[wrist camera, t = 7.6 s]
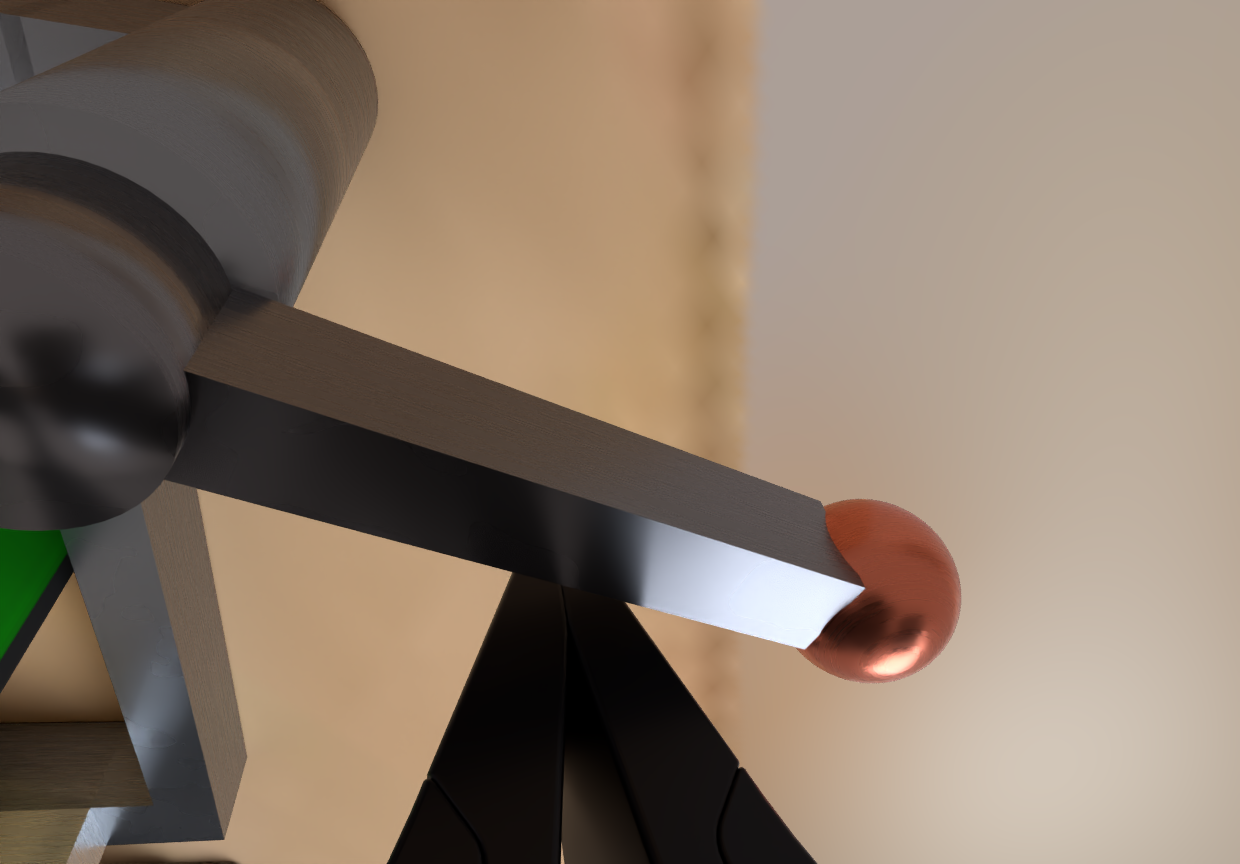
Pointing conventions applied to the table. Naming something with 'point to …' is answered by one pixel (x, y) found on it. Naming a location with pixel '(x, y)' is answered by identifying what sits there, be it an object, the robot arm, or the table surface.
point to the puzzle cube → (27, 589)
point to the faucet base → (253, 260)
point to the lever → (401, 442)
